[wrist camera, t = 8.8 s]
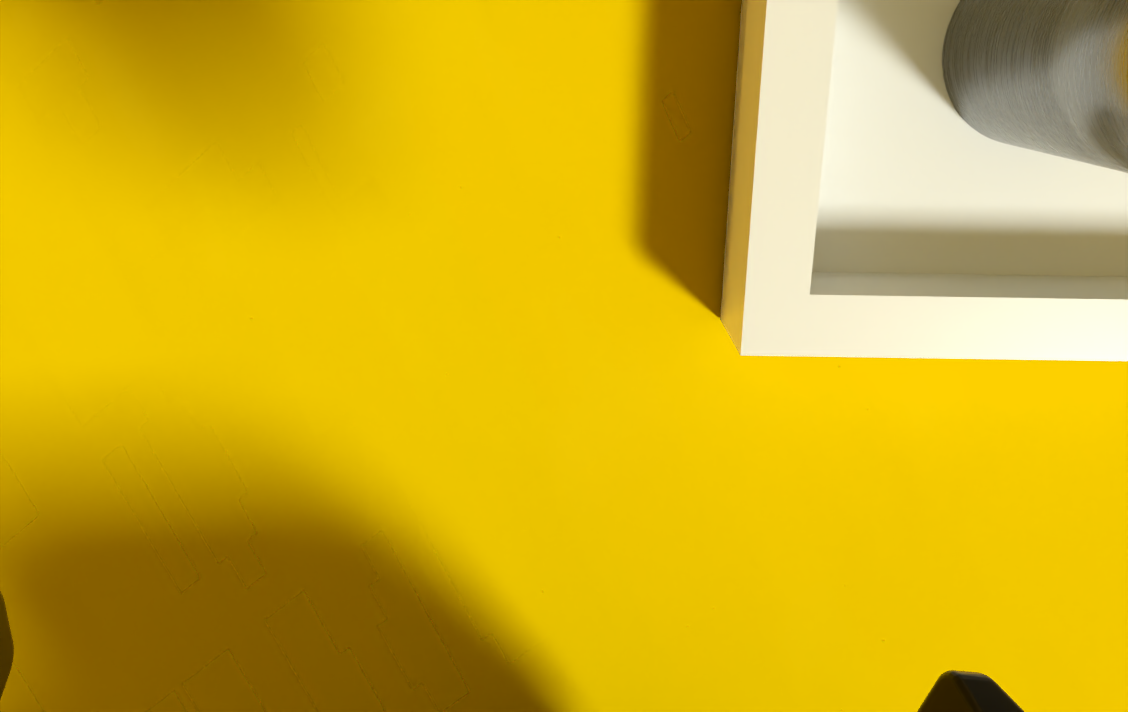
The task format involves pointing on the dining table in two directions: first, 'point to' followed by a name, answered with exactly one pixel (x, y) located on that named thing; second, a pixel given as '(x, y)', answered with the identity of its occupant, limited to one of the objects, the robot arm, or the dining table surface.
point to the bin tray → (903, 204)
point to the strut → (1043, 75)
